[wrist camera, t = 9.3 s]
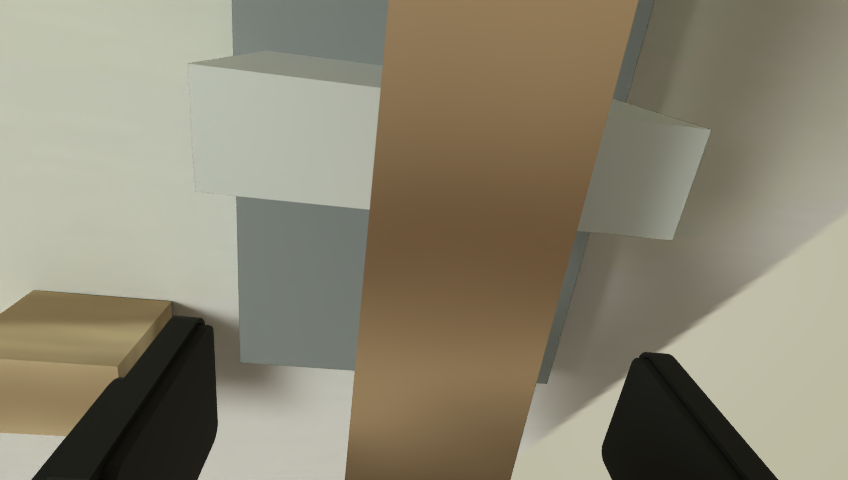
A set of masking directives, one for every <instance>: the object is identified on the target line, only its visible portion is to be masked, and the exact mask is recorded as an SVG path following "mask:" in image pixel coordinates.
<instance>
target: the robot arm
mask: <svg viewBox="0 0 848 480" xmlns="http://www.w3.org/2000/svg"><path fill="white" fill-rule="evenodd" d="M217 427H218V418H217V397H216V376H215V355H214V334H213V328H212V326H209V325H205V322H204V320H203V319H202V318H196V317H183V316H173V317H172V318H171V319H170V320H169V321H168V322H167V323H166V325H165V326H164V327H163V329H162V330H161V331H160V332H159V334H158V335H157V336H156V338H155V339H154V340H153V341H152V343H151V344H150V345H149V346H148V348H147V349H146V350H145V352H144V353H143V354H142V355H141V357H140V358H139V359H138V361H137V362H136V363H135V364H134V366H133V367H132V368H131V370H130V371H129V372H128V373H127V375H126V376H125V377H118V378H116V379H114V380H113V381H112V382H111V383H110V384H109V385H108V386H107V387H106V388H105V390H104V391H103V392H102V393H101V395H100V396H99V397H98V398H97V399H96V401H95V402H94V403H93V404H92V406H91V407H90V408H89V409H88V411H87V412H86V413H85V414H84V416H83V417H82V418H81V419H80V420H79V422H78V423H77V424H76V425H75V427H74V428H73V429H72V430H71V432H70V433H69V434H68V435H67V436H66V438H65V439H64V440H63V441H62V443H61V444H60V445H59V446H58V448H57V449H56V450H55V451H54V453H53V454H52V455H51V456H50V457H49V459H48V460H47V461H46V462H45V464H44V465H43V466H42V467H41V469H40V470H39V471H38V472H37V474H36V475H35V476H34V477H33V478H32V480H197V479H198V477H199V475H200V472H201V470H202V468H203V466H204V463H205V461H206V459H207V457H208V454H209V452H210V450H211V448H212V445H213V443H214V440H215V437H216V433H217ZM602 458H603V461H604V464H605V466H606V468H607V470H608V472H609V474H610V476H611V478H612V480H778V479H777V478H776V477H775V475H774V474H773V473H772V472H771V471H770V470H769V468H768V467H767V466H766V465H765V464H764V462H763V461H762V460H761V459H760V458H759V457H758V455H757V454H756V453H755V452H754V451H753V450H752V448H751V447H750V446H749V445H748V444H747V443H746V441H745V440H744V439H743V438H742V437H741V435H740V434H739V433H738V432H737V431H736V430H735V428H734V427H733V426H732V425H731V424H730V423H729V421H728V420H727V419H726V418H725V417H724V416H723V414H722V413H721V412H720V411H719V410H718V408H717V407H716V406H715V405H714V404H713V403H712V402H711V400H710V399H709V398H708V397H707V396H706V394H705V393H704V392H703V391H702V390H701V389H700V387H699V386H698V385H697V384H696V383H695V381H694V380H693V379H692V378H691V377H690V376H689V374H688V373H687V372H686V371H685V370H684V369H683V367H682V366H681V365H680V364H679V363H678V362H677V360H676V359H675V358H674V357H673V356H672V355H670V354H663V353H650V352H645V353H642V354H641V355H640V356H639V358H635V359H634V360H633V361H632V363H631V366H630V369H629V372H628V375H627V377H626V380H625V383H624V386H623V389H622V392H621V394H620V397H619V400H618V403H617V406H616V408H615V411H614V414H613V417H612V419H611V422H610V425H609V428H608V431H607V433H606V436H605V439H604V442H603V445H602Z"/></svg>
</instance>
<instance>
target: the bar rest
mask: <svg viewBox="0 0 848 480" xmlns="http://www.w3.org/2000/svg"><path fill="white" fill-rule="evenodd" d="M172 317H173V316H172V304H171V301H160V300H148V299H135V298H123V297H110V296H98V295H85V294H73V293H60V292H47V291H35V290H33V291H32V292H30V293H29V294H28V295H26V296H25V297H23V298H22V299H21V300H19V301H18V302H16V303H15V304H14V305H12V306H11V307H9V308H8V309H7V310H5V311H4V312H2V313H1V314H0V433H18V434H37V435H56V436H67V435H68V434H69V433H70V432H71V430H72V429H73V428H74V427H75V425H76V424H77V423H78V422H79V420H80V419H81V418H82V417H83V416H84V414H85V413H86V412H87V411H88V409H89V408H90V407H91V406H92V404H93V403H94V402H95V401H96V399H97V398H98V397H99V396H100V395H101V393H102V392H103V391H104V390H105V388H106V387H107V386H108V385H109V384H110V383H111V382H112V381H113V380H114V379H116V378H118V377H125V376H126V375H127V373H128V372H129V371H130V370H131V368H132V367H133V366H134V364H135V363H136V362H137V361H138V359H139V358H140V357H141V355H142V354H143V353H144V352H145V350H146V349H147V348H148V346H149V345H150V344H151V343H152V341H153V340H154V339H155V338H156V336H157V335H158V334H159V332H160V331H161V330H162V329H163V327H164V326H165V325H166V323H167V322H168V321H169V320H170V319H171V318H172Z"/></svg>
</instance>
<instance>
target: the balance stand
mask: <svg viewBox="0 0 848 480" xmlns="http://www.w3.org/2000/svg"><path fill="white" fill-rule="evenodd" d="M388 2H389V0H232V28H233V56H232V57H225V58H219V59H213V60H206V61H200V62H194V63H188V80H189V98H190V115H191V133H192V150H193V168H194V185H195V192H201V193H211V194H220V195H230V196H236V203H237V246H238V290H239V333H240V363H253V364H267V365H282V366H296V367H311V368H325V369H340V370H354V371H355V364H356V353H357V342H358V331H359V320H360V309H361V298H362V287H363V276H364V265H365V254H366V243H367V232H368V221H369V211H370V200H371V189H372V178H373V167H374V156H375V145H376V134H377V123H378V112H379V101H380V90H381V79H382V68H383V57H384V46H385V35H386V24H387V13H388ZM653 4H654V0H639V1H638V4H637V8H636V12H635V16H634V19H633V23H632V27H631V31H630V34H629V38H628V42H627V45H626V49H625V53H624V57H623V60H622V64H621V68H620V72H619V75H618V79H617V83H616V87H615V90H614V94H613V98H612V102H611V105H610V109H609V113H608V116H607V120H606V124H605V128H604V131H603V135H602V139H601V143H600V146H599V150H598V154H597V158H596V161H595V165H594V169H593V173H592V176H591V180H590V184H589V187H588V191H587V195H586V199H585V202H584V206H583V210H582V214H581V217H580V221H579V225H578V229H577V232H576V236H575V240H574V244H573V247H572V251H571V255H570V258H569V262H568V266H567V270H566V273H565V277H564V281H563V285H562V288H561V292H560V296H559V300H558V303H557V307H556V311H555V315H554V318H553V322H552V326H551V330H550V333H549V337H548V341H547V344H546V348H545V352H544V356H543V359H542V363H541V367H540V371H539V374H538V378H537V382H536V383H543V384H547V382H548V379H549V375H550V371H551V368H552V364H553V361H554V357H555V354H556V350H557V346H558V343H559V339H560V336H561V332H562V329H563V325H564V321H565V318H566V314H567V311H568V307H569V304H570V300H571V297H572V293H573V289H574V286H575V282H576V279H577V275H578V272H579V268H580V264H581V261H582V257H583V254H584V250H585V247H586V243H587V239H588V236H589V232H594V233H604V234H614V235H624V236H634V237H644V238H653V239H663V240H672V239H673V237H674V234H675V231H676V228H677V225H678V223H679V220H680V217H681V214H682V211H683V208H684V206H685V203H686V200H687V197H688V194H689V191H690V189H691V186H692V183H693V180H694V177H695V174H696V172H697V169H698V166H699V163H700V160H701V158H702V155H703V152H704V149H705V146H706V143H707V141H708V138H709V135H710V132H711V130H710V129H707V128H704V127H701V126H698V125H694V124H691V123H688V122H685V121H682V120H678V119H675V118H672V117H669V116H666V115H663V114H659V113H656V112H653V111H650V110H647V109H644V108H640V107H637V106H634V105H631V104H628V103H626V100H627V97H628V93H629V90H630V86H631V82H632V79H633V75H634V72H635V68H636V65H637V61H638V57H639V54H640V50H641V47H642V43H643V40H644V36H645V32H646V29H647V25H648V22H649V18H650V15H651V11H652V8H653Z"/></svg>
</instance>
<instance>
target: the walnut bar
mask: <svg viewBox="0 0 848 480" xmlns="http://www.w3.org/2000/svg"><path fill="white" fill-rule="evenodd" d="M638 1H639V0H389V2H388V13H387V24H386V35H385V46H384V57H383V68H382V79H381V90H380V101H379V112H378V123H377V134H376V145H375V156H374V167H373V178H372V189H371V200H370V211H369V221H368V232H367V243H366V254H365V265H364V276H363V287H362V298H361V309H360V320H359V331H358V342H357V353H356V364H355V375H354V386H353V397H352V408H351V419H350V430H349V441H348V452H347V463H346V474H345V480H510V479H511V475H512V471H513V468H514V464H515V460H516V457H517V453H518V449H519V445H520V442H521V438H522V434H523V430H524V427H525V423H526V419H527V415H528V412H529V408H530V404H531V401H532V397H533V393H534V389H535V386H536V382H537V378H538V374H539V371H540V367H541V363H542V359H543V356H544V352H545V348H546V344H547V341H548V337H549V333H550V330H551V326H552V322H553V318H554V315H555V311H556V307H557V303H558V300H559V296H560V292H561V288H562V285H563V281H564V277H565V273H566V270H567V266H568V262H569V258H570V255H571V251H572V247H573V244H574V240H575V236H576V232H577V229H578V225H579V221H580V217H581V214H582V210H583V206H584V202H585V199H586V195H587V191H588V187H589V184H590V180H591V176H592V173H593V169H594V165H595V161H596V158H597V154H598V150H599V146H600V143H601V139H602V135H603V131H604V128H605V124H606V120H607V116H608V113H609V109H610V105H611V102H612V98H613V94H614V90H615V87H616V83H617V79H618V75H619V72H620V68H621V64H622V60H623V57H624V53H625V49H626V45H627V42H628V38H629V34H630V31H631V27H632V23H633V19H634V16H635V12H636V8H637V4H638Z"/></svg>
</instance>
